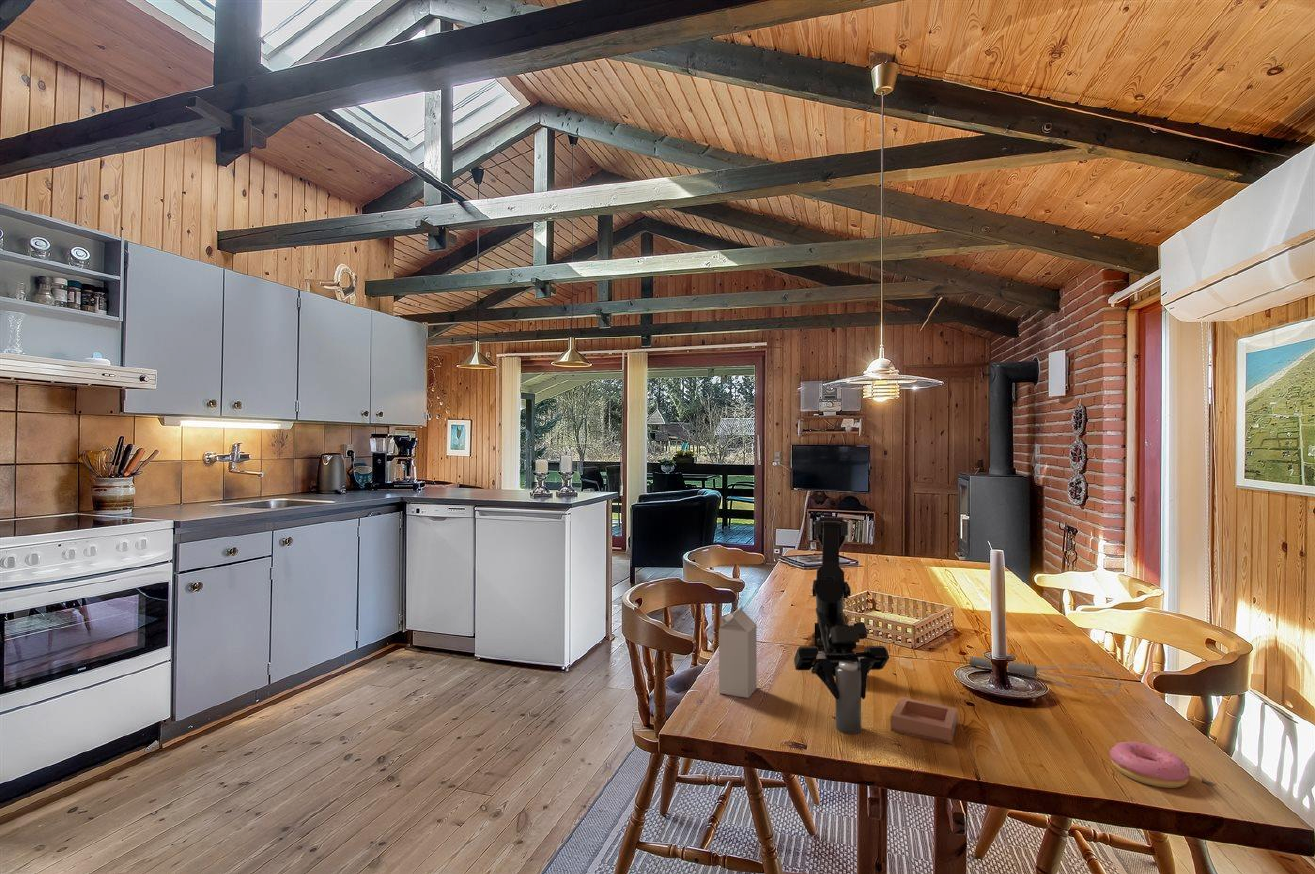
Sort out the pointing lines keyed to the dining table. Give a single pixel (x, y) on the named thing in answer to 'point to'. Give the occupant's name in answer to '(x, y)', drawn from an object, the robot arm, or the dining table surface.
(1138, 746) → the doughnut
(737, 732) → the dining table surface
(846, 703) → the pepper mill
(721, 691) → the milk carton
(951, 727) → the terracotta holder
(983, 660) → the kitchen whisk
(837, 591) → the robot arm
